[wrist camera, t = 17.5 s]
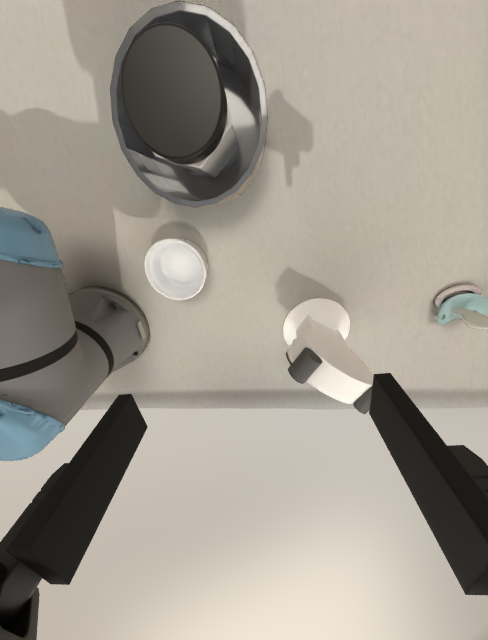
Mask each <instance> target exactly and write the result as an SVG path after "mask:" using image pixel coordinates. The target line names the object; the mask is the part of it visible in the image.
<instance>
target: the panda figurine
mask: <svg viewBox="0 0 488 640" xmlns="http://www.w3.org/2000/svg"><path fill="white" fill-rule="evenodd" d="M349 329H350V320H349V316H348V314H347V312H346V311H345V309H344V308H343V307H342V306H341V305H340V304H338V303H337V302H335V301H333V300H330V299H325V298H314V299H309V300H306V301H304V302H302V303H300V304H298V305H297V306H295V307H294V308H293V309H292V310H291V311H290V312H289V314H288V315H287V317H286V319H285V321H284V325H283V334H284V338H285V341H286V342H287V344H288V345H289V346H290V347H289V348H288V349H287V352H286V356H287V359H288V361H289V363H290V365H291V366H290V367H289V368H288V371H289V373H290V375H291V376H292V378H293V379H294V380H296V381H297V382H298V383H301V384H303V383H305V382H306V381H307V382H309V383H310V384H311V385H312V386H314V387H315V388H316V389H318V390H319V391H321V392H323V393H324V394H326V395H328V396H330V397H332V398H334V399H336V400H339V401H341V402H344V403H348V404H352V403H353V404H354V407H355V408H356V409H357V410H358V411H359V412H361V413H363V414H366V413H367V412H368V411H369V410H370V402H371V394H372V386H373V377H374V376H373V374H372V372H371V370H370V369H369V367H368V366H367V365H366V364H365V362H364V361H363V360H362V359H361V358H360V357H359V356H358V355H357V354H355V353H354V352H353V351H352V350H351V349H350V348H349V346H348V345H347V343H346V341H345V339H346V337H347V335H348V333H349Z"/></svg>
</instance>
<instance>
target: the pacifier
mask: <svg viewBox="0 0 488 640" xmlns="http://www.w3.org/2000/svg"><path fill="white" fill-rule="evenodd" d="M461 290H469V291H471V292H472V293H464V294H458V295H455V296H453V297H451V298H449V299H448V300H447V301H445V302H444V304H443V305H442V301H443V299H444V298H445V297H446V296H448V295H449V294H451V293H454V292H457V291H461ZM435 305H436V306H437V308H439V309H440V310H439V312H438V315H437V322H438V323H439V324H446V323H448V322H450V321H451V320H453V319H454V318H459V319H462V320H463V321H464V323H465V324H466V325H467V326H468V327H470V328H472V329H476V330H484V329H487V328H488V316H487V315H488V299H487V298H485V297H484V296H481V291H480V289H479V288H478V287H476V286H473V285H458V286H454V287H451V288H448V289H446V290H444V291H443V292H441V293H440V294H439V295H438V296H437V298H436V300H435ZM473 310H476V312H473ZM443 315H445V316H444V318H443V319H442V316H443Z"/></svg>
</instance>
